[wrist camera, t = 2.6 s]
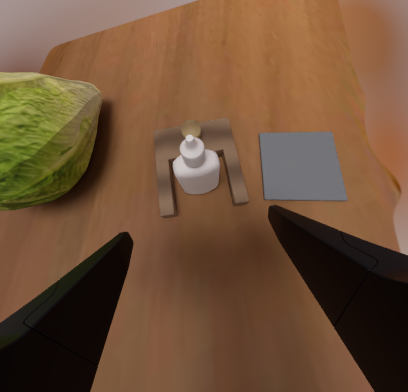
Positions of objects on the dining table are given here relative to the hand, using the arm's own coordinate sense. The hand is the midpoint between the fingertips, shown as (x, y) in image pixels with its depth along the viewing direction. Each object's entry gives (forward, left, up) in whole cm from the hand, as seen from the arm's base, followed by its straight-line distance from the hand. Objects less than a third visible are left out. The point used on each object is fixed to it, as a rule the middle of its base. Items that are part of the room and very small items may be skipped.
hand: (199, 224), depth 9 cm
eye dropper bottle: (+6, -5, -14) cm, 16 cm away
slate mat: (-4, -18, -13) cm, 23 cm away
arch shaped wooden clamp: (+8, -7, -13) cm, 17 cm away
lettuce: (+28, +6, -14) cm, 31 cm away
